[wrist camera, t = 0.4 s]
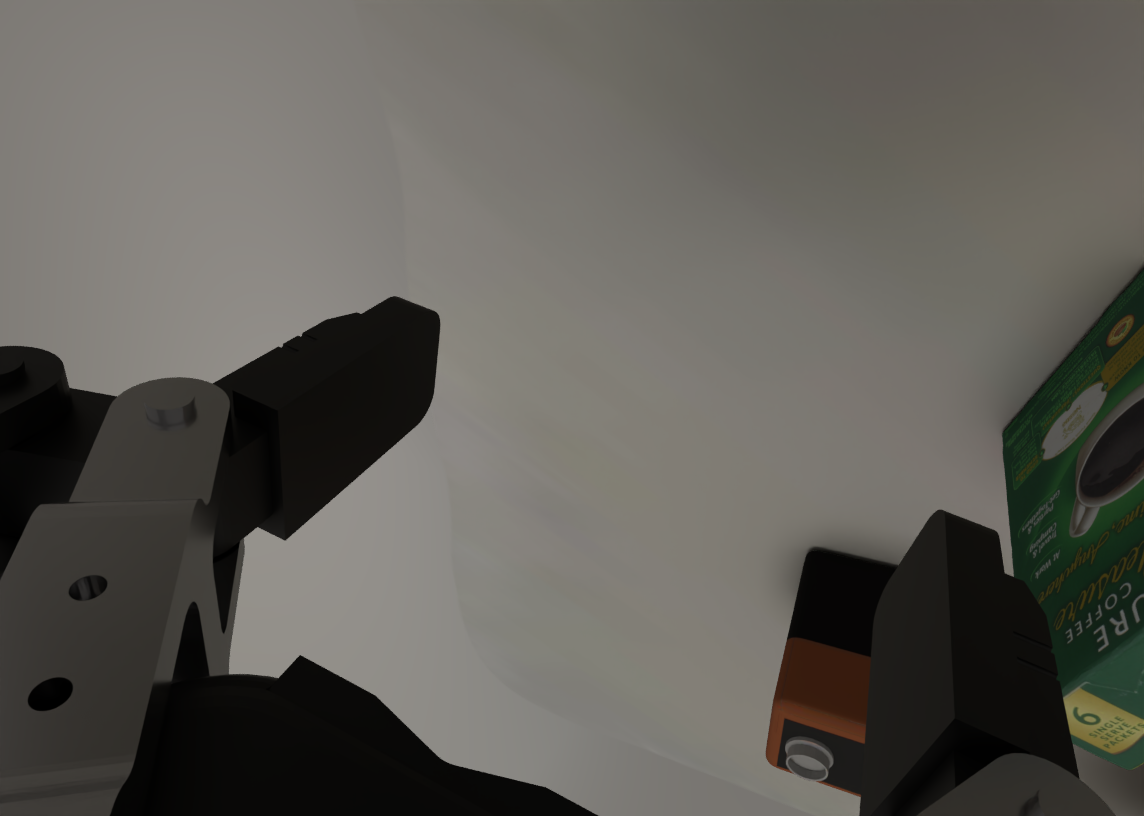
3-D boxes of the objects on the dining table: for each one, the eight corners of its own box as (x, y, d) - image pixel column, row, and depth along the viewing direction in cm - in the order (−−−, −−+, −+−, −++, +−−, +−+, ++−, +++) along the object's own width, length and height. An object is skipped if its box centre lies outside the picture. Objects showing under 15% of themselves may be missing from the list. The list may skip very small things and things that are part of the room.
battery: (946, 645, 34) (944, 854, 26) (798, 606, 36) (758, 787, 29) (967, 579, 32) (973, 789, 24) (808, 543, 34) (767, 722, 27)
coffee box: (1067, 470, 27) (1134, 789, 17) (992, 437, 28) (1015, 729, 18) (1242, 291, 22) (1478, 598, 12) (1146, 255, 23) (1298, 521, 13)
